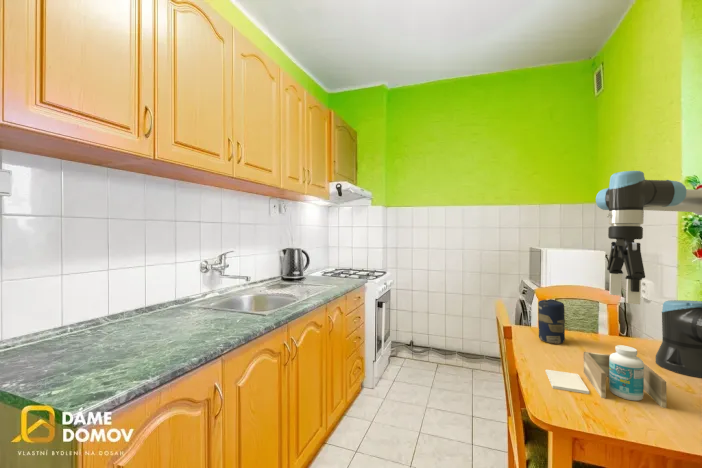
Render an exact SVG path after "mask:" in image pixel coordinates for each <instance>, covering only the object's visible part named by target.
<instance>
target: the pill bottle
mask: <svg viewBox="0 0 702 468" xmlns="http://www.w3.org/2000/svg"><path fill="white" fill-rule="evenodd" d="M609 355H610V357H609V377H608V383H609V384H608V389H609V391H610V392H611V393H612V394H613V395H615V396H617V397H619V398H621V399H624V400H629V401H634V402H635V401H636V402H638V401H641V400H643V399H644V392H645V391H644V364H645V363H644V361H643V359H642V358H640V357H638V356H637V355H638V349H636V348H634V347H633V346H629V345H623V344H622V345H621V344H619V345H615V352H612V353H611V354H609Z"/></svg>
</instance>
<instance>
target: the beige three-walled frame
mask: <svg viewBox="0 0 702 468" xmlns="http://www.w3.org/2000/svg"><path fill="white" fill-rule="evenodd" d="M610 355H611V354H607V353H598V352H591V351H590V352H589V351H583V374H584V375H585V377H586V378H587V380H588V381H589V382H590V384H591V385H592V387H593V388H594V389H595V391H596V393H597V394H598V395H599V396H600V398H602V399H607V398H606V397H607V396H606V394H607V391H606V389H607V388H606V387H607V386H606V383H607V382H606V378H609V357H610ZM644 392H645V393H646V394H647V395H649V397H650V398H651V399H653V401H654V402H656V404H657V405H659V406H660V408H663V409H667V381H666V380H665V379H663V378H662V376H660V375H659V374H657V372H655V371H654V370H653V369H651V368H650V367H649V366H648V365H647V364H646V363H644Z"/></svg>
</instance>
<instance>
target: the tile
mask: <svg viewBox="0 0 702 468" xmlns="http://www.w3.org/2000/svg"><path fill="white" fill-rule="evenodd" d="M545 374H546V376H547V378H548V380H549V383H550V385H551V388H552V389H554V390H555V389H556V390H560V391H568V392H572V393H573V392H574V393H582V394H585V395H586V394H587V395H590V390H589V389H588V387H587V386H586V383H585V382H584V381H583V379H582V378H581V376H580V375H579V374H578V373H574V372H573V373H572V372H567V371H559V370H553V369H545Z"/></svg>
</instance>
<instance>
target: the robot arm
mask: <svg viewBox="0 0 702 468" xmlns="http://www.w3.org/2000/svg"><path fill="white" fill-rule="evenodd" d="M595 203H596V206H597V207H598V208H599V209H601V210H603V211H608V213H607V214H606V218H608V224H609V225H611V226H609V227H608V230H607V231H608V232H607V233H608V234H607V235H608V236H607V237H608V239H610V240H615V241H611V244H610V245H611V247H610V252H609V257H608V263H607V267H606V269H607V271H608V273H609V293H608V294H609V295H610V296H620V297H621V296H622V280H623V279H622V277H623V274H624V272H623V270H622V269H623V266H625V270H626V273H627V275H626V276H625V277H624V279H625V280H626V296H625V297H626V299H625V300H626V302H625V303H626V304H633V305H641V287H642V285H641V282H642V280H643V279H646V273H645V268H644V261H643V258H642V257H643V256H642V252H641V251H642V250H641V243H640V242H635V241H636V240H642V239H643V237H644V228H643V226H642V225H643V224H644V216H645V215H644V211H652V212H653V211H655V212H656V211H658V212H659V211H660V212H685V213H688V212H689V213H693V214H695V215H698V216H702V187H699V188H696V189H689V188H688V189H687V187H686V186H685V184H683V183H682V182H680V181H678V180H677V181H676V180H672V179H671V180H670V179H665V180H662V179H658V180H657V179H646V177H645V173H644V172H643V171H641V170H624V171H618V172H614V173H613V174H612V175H611V176H610V178H609V185H608V187H607V188H603V189H601V190H599V191H598V193H597V194H596V197H595ZM661 328H662V329H661V330H662V331H661V333H662V341H661V344H660V346H659V348H658V350H657V352H656V354H655V364H657V365H658V366H659V367H661V368H664V369H666V370H668V371H671V372H674V373H678V374H682V375H686V376H689V377H696V378H702V301H701V300H699V301H698V300H687V299H686V300H681V299H680V300H678V299H676V300H675V299H674V300H673V299H671V300H665V301H664V302H663V303H662V311H661Z"/></svg>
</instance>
